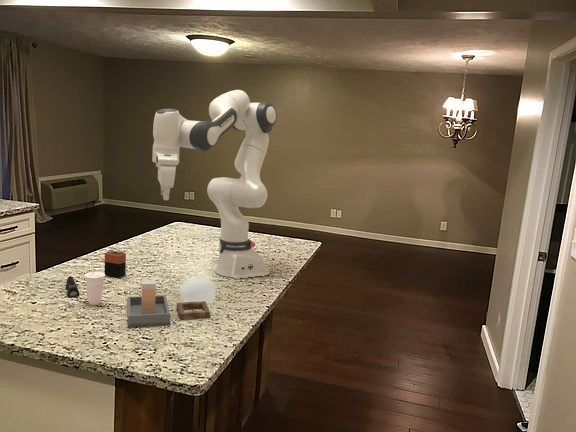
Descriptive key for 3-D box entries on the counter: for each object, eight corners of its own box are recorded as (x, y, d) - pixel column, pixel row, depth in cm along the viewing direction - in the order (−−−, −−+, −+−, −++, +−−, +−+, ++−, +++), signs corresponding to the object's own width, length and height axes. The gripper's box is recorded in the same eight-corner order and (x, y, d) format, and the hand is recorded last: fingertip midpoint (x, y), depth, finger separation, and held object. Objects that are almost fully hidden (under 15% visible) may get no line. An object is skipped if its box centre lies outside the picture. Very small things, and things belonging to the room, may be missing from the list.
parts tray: (165, 305, 161) (165, 295, 161) (169, 324, 147) (170, 313, 146) (127, 307, 157) (127, 296, 157) (127, 327, 143) (128, 316, 142)
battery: (119, 278, 184) (119, 253, 182) (103, 275, 185) (104, 250, 184) (126, 275, 188) (126, 250, 186) (110, 272, 190) (110, 248, 188)
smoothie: (87, 299, 162) (87, 258, 159) (107, 299, 162) (107, 259, 160) (81, 306, 155) (81, 264, 153) (102, 307, 156) (102, 265, 153)
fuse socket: (205, 306, 163) (205, 301, 162) (209, 318, 154) (210, 312, 153) (176, 308, 159) (176, 302, 159) (179, 319, 151) (179, 313, 150)
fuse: (154, 309, 154) (154, 279, 153) (154, 314, 151) (155, 283, 149) (140, 310, 153) (141, 280, 151) (141, 315, 149) (142, 284, 148)
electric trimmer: (76, 283, 177) (76, 275, 176) (79, 297, 163) (79, 288, 163) (64, 284, 175) (64, 275, 174) (67, 298, 161) (67, 289, 161)
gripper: (154, 154, 173) (153, 192, 176) (158, 159, 154) (157, 202, 157) (172, 155, 175) (171, 193, 178) (178, 160, 156) (177, 202, 159)
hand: (164, 197), depth 167 cm, fingers open, 8 cm apart
